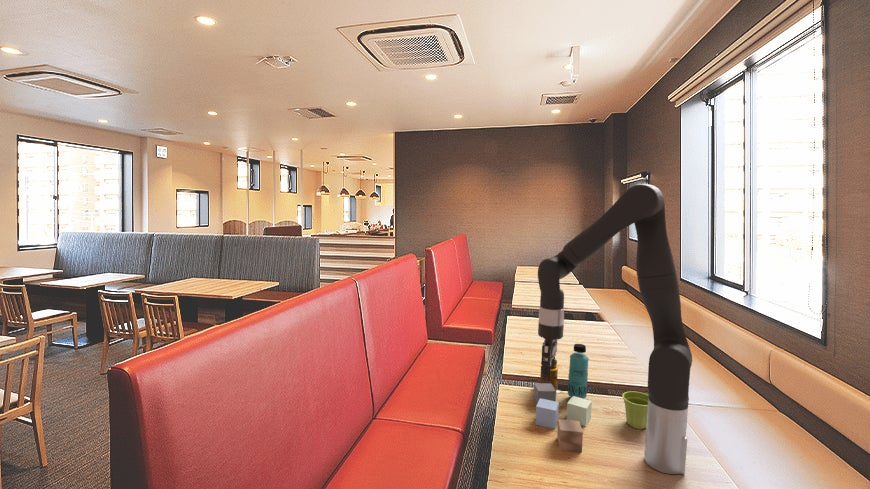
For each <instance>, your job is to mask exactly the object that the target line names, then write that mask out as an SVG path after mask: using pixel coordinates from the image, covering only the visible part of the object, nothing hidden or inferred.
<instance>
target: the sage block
mask: <svg viewBox="0 0 870 489" xmlns="http://www.w3.org/2000/svg"><path fill="white" fill-rule="evenodd" d="M592 402H593V401H592V400H590V399H586V398H585V399H583V398H579V397H575V396H573V397H572V398H571V397H570V399H569V400H568V402H567V403H566V420H573V421H579V422H580V425H581V427H587V425H588V423H589V422H590V421H591V419H592V407H593V406H592Z"/></svg>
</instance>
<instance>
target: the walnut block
mask: <svg viewBox="0 0 870 489" xmlns="http://www.w3.org/2000/svg"><path fill="white" fill-rule="evenodd" d="M556 435H557V436H556V439H557V443H558V449H559V451H565V452H566V451H567V452H573V453H574V452H575V453H583V437H584V436H583V435H584V432H583V429H582V425H580V422H579V421H573V420H567V419H562V418H558V422H557V434H556Z"/></svg>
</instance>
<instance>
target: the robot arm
mask: <svg viewBox="0 0 870 489" xmlns="http://www.w3.org/2000/svg"><path fill="white" fill-rule="evenodd" d="M666 221H667V220H666V203H665V198H664V194H663V191H661V190H660V188H658V187H657V186H655V185H653V184H648V183H637V184H634V185H631V186H629V187H628V188H627V189H626V190H625V191H624V192H623V193H622V194H621V196H620V197H619V198H618V199H617V200H616V201H615V203H613V205H612V206H611V207H609V209H607V210H606V212H604V213H603V214H602V215H601V216H600V217H599V218H598V219H597V220H595V221H594V222H593V223H592V224H591V225H589V226H588V227H587V228H585V229H583V231H581V232H580V233H578V234H577V235H576V236H575V237H573V238H572V239H571V240H570V241H568V242H567V243H565V245H564V246H563V247H562V250H560V252H559V253H557V254H556V255H554V256H552V257H549V258H545V259H543V260H541V262H540V263H539V265H538V268H537V280H538V286H539V290H540V298H539V299H540V300H539V311H538V323H537V324H538V326H537V327H538V328H537V334H538V336H539V337H540V338H543V339H544V340H543V342H542V346H541V360H540V361H541V362H540V366H542V365H543V377H547V378H549V377H550V371H551V368H554V367H555V359H556V356H557V352H558V340H560V339H561V340H562V338H564V329H565V328H564V325H565V310H564V309H565V306H564V305H565V292H564V291H563V289H562V288H561V285H560V280H561V279H563V278H565V277H566V276H568V275H569V274H571V273H572V272H573V271H575V269H576V268H577V267H578V266H579V265H581V264H582V263H584V262H585V261H586V260H588V259H589V258H591V257H592V256H594V254H596V253H597V252H598V251H600V250H601V249H602V248H603V247H604V246H605V245H606V244H607V243H608V242H609V241H611V239H612V238H613V237H615V236H616V235H617V234H618V233H620V232H621V231H622V230H624V229H626V228H627V227H629V226H631V225H633V224H634V228H635V231H636V237H637V238H636V239H637V240H636V241H637V242H636V243H637V247H636V257H635V258H636V259H635V260H636V261H635V267H636V268H635V270H636V277H637V278H636V279H637V283H638V289H639V292H640V296H641V300H642V302H643V305H644V308H645V309H646V311H647V314H648V316H649V318H650V322H651V326H652V336H653V349H652V351H651V353H650V355H649V358H648V367H647V368H648V371H647V372H648V373H647V391H648V394H647V395H648V409H647V425H646V428H645V441H644V442H645V443H644V456H643V458H644V462H645V463H646V464H647V465H648V466H649V467H651V468H652V469H654V470H656V471H658V472H660V473H665V474H667V475H668V474H669V475H677V474H678V475H679V474H680V475H685V473H686V462H687V461H686V460H687V451H688V450H687V448H688V437H687V428H688V415H689V401H690V397H689V393H690V391H689V390H690V378H691V376H690V375H691V368H692V364H693V355H692V351H691V347H690V345H689V342H688V339H687V334H686V332H685V328H684V325H683V319H682V304H681V295H680V286H679V281H678V280H679V279H678V275H677V270H676V265H675V261H674V257H673V252H672V249H671V245H670V242H669V241H670V240H669V238H668V232H667V224H666ZM545 358H548V362H547V361H545Z"/></svg>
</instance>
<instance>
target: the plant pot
mask: <svg viewBox="0 0 870 489" xmlns="http://www.w3.org/2000/svg"><path fill="white" fill-rule="evenodd" d="M621 397H622V399H623V402H624V408H625V418H626V423H627V424H628V425H629V426H630V427H632V428H634V429H638V430H642V429H646V425H647V409H648V394H647V393H645V392H640V391H632V390H631V391H625V392H623V393H622V394H621Z"/></svg>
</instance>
